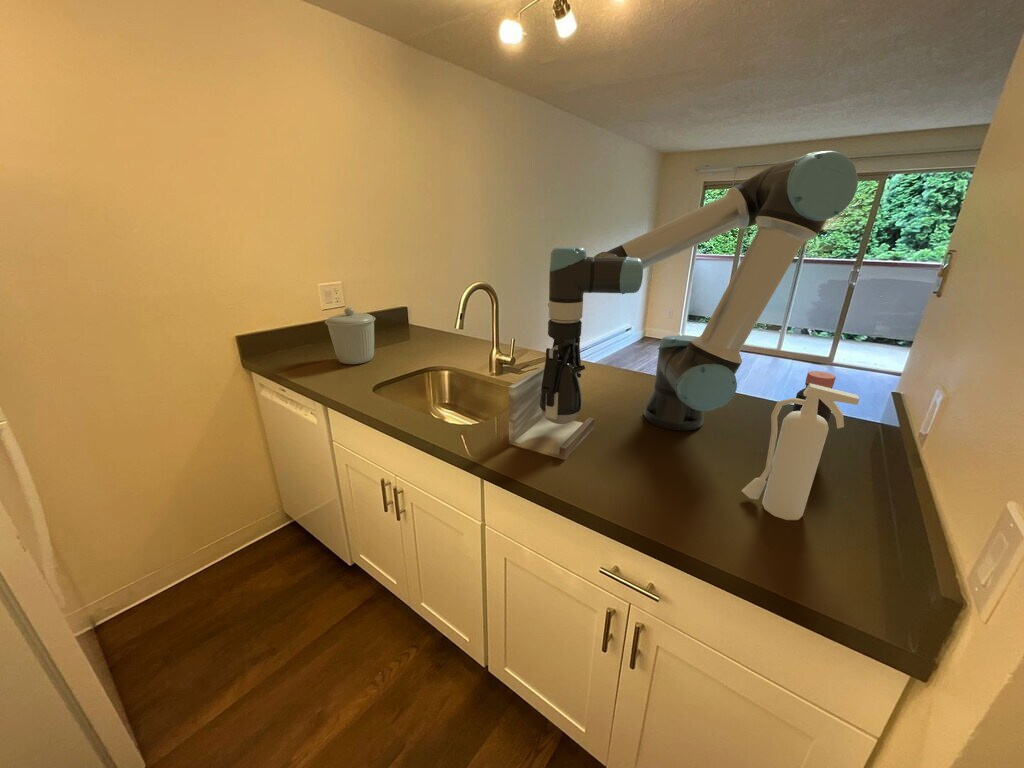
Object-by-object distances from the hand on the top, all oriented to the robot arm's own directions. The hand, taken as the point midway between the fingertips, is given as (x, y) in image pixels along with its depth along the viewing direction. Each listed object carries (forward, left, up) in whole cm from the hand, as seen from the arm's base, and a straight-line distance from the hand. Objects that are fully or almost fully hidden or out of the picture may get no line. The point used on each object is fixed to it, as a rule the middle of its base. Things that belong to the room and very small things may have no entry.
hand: (561, 409), depth 102 cm
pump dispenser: (0, 0, -3) cm, 3 cm away
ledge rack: (+2, 0, -8) cm, 8 cm away
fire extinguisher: (-47, +4, -8) cm, 48 cm away
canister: (+96, -17, -8) cm, 98 cm away
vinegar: (-51, -20, -8) cm, 55 cm away
